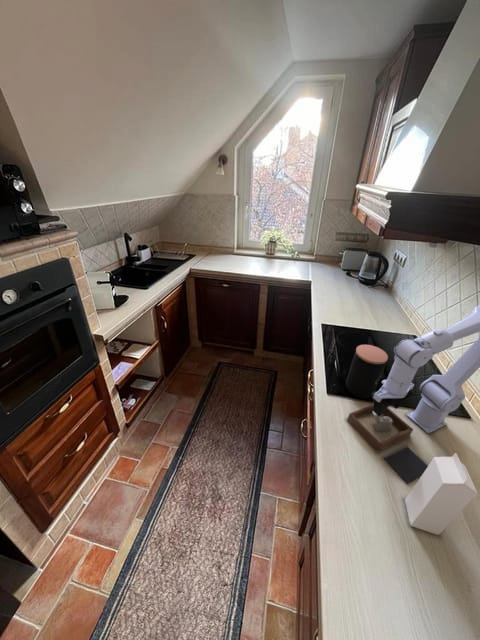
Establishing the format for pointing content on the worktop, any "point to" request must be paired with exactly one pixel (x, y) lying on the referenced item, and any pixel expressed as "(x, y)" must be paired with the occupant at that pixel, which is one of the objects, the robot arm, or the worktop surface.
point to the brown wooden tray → (374, 443)
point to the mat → (406, 464)
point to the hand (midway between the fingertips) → (385, 409)
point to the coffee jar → (366, 370)
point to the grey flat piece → (382, 422)
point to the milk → (440, 494)
